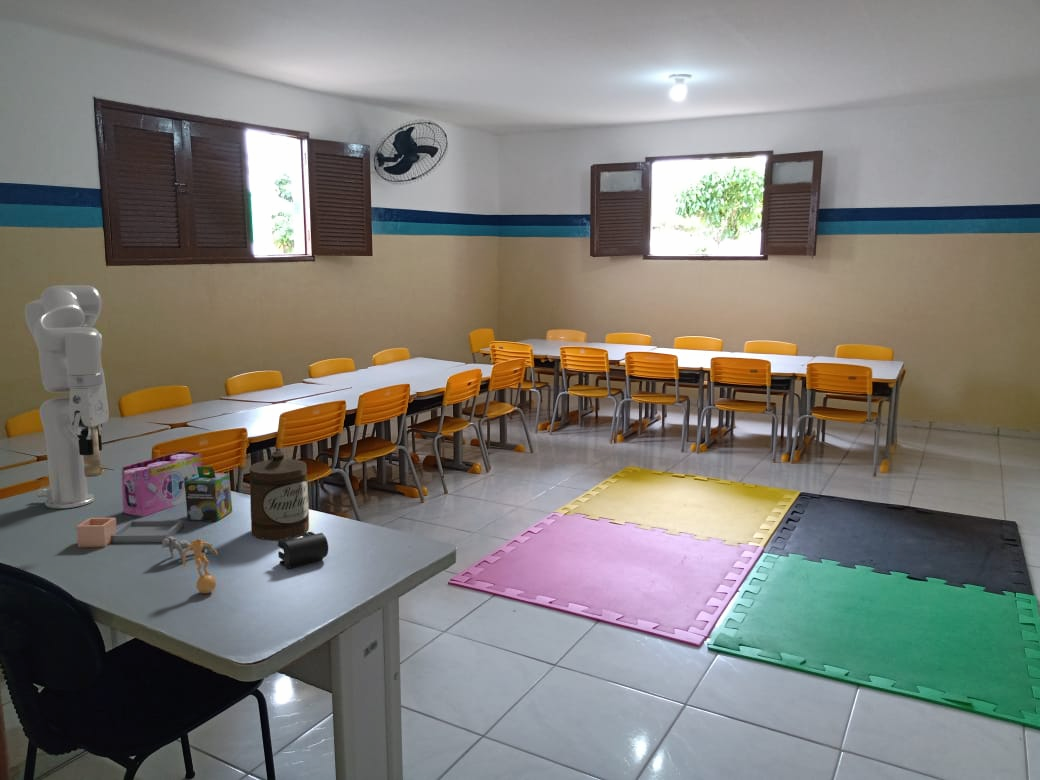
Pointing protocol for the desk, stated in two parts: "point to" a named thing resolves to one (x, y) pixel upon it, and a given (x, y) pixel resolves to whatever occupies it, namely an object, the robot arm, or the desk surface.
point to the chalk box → (208, 495)
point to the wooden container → (279, 498)
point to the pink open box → (96, 532)
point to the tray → (147, 530)
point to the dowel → (92, 456)
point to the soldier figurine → (180, 545)
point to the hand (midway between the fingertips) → (90, 452)
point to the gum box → (158, 482)
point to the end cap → (302, 549)
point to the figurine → (205, 581)
